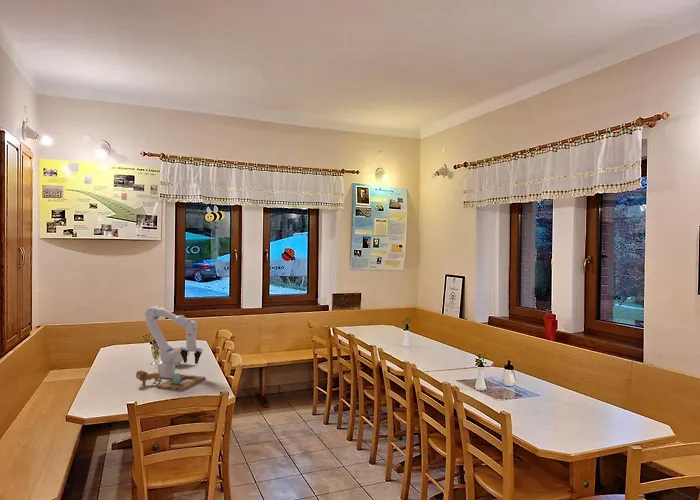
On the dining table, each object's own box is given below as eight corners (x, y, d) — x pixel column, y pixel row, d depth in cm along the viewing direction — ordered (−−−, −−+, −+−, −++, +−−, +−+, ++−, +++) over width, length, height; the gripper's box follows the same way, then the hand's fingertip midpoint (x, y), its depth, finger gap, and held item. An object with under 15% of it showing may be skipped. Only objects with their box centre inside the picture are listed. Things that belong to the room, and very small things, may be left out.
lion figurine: (136, 387, 275) (136, 371, 275) (134, 385, 279) (135, 369, 279) (163, 384, 283) (164, 368, 283) (161, 381, 287) (162, 366, 287)
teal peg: (171, 386, 278) (171, 374, 278) (176, 384, 282) (176, 372, 282) (176, 387, 277) (176, 375, 277) (181, 385, 280) (182, 373, 280)
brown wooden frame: (157, 388, 275) (157, 385, 275) (181, 376, 298) (182, 374, 298) (182, 391, 271) (182, 388, 271) (205, 379, 294) (205, 376, 294)
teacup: (189, 366, 323) (189, 351, 322) (165, 367, 318) (165, 352, 318) (189, 361, 334) (189, 347, 334) (166, 362, 330) (166, 348, 329)
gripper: (205, 340, 298) (205, 362, 299) (184, 338, 302) (184, 360, 302) (199, 342, 291) (198, 365, 292) (177, 340, 295) (177, 363, 295)
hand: (190, 363), depth 296 cm, fingers open, 7 cm apart
